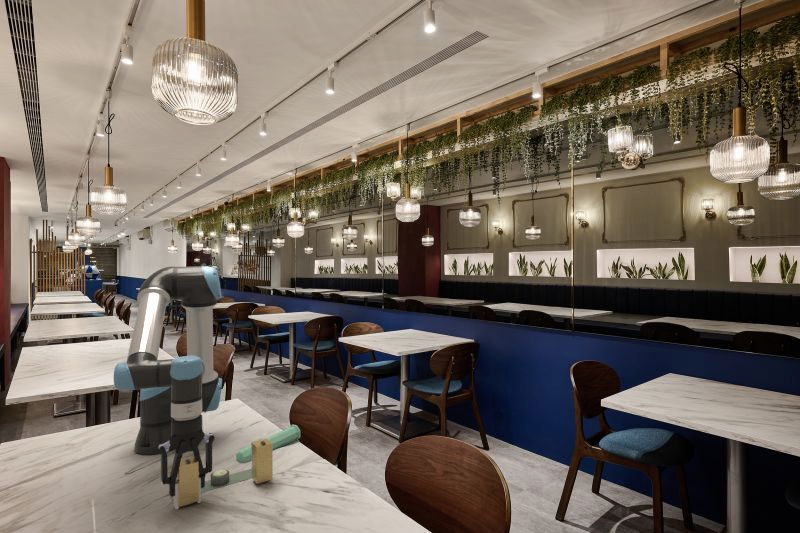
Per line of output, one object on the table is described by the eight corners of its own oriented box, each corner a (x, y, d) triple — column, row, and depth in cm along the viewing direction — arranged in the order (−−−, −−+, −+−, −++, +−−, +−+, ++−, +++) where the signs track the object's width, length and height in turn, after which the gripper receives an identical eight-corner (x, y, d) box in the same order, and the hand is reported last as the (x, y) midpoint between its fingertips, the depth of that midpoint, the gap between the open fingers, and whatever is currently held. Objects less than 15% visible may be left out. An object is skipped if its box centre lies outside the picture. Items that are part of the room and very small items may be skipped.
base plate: (168, 495, 123) (168, 480, 123) (260, 469, 139) (260, 455, 138) (175, 514, 114) (175, 497, 114) (274, 484, 129) (273, 469, 129)
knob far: (251, 480, 129) (251, 440, 129) (267, 476, 132) (266, 436, 132) (256, 487, 125) (256, 445, 125) (272, 482, 128) (272, 441, 128)
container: (241, 448, 141) (298, 422, 162) (230, 451, 144) (287, 426, 165) (246, 466, 140) (302, 438, 161) (235, 469, 143) (292, 441, 164)
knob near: (176, 502, 117) (176, 458, 117) (194, 497, 120) (194, 453, 120) (179, 510, 114) (179, 464, 114) (198, 504, 116) (198, 459, 116)
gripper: (150, 427, 109) (151, 521, 109) (225, 413, 119) (225, 499, 119) (146, 419, 115) (147, 508, 115) (218, 406, 125) (218, 487, 125)
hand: (187, 503), depth 117 cm, fingers closed on knob near, 5 cm apart
